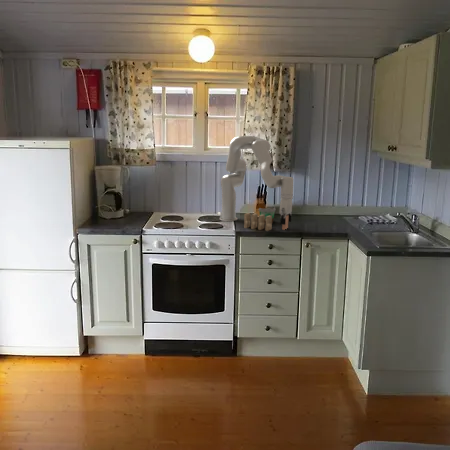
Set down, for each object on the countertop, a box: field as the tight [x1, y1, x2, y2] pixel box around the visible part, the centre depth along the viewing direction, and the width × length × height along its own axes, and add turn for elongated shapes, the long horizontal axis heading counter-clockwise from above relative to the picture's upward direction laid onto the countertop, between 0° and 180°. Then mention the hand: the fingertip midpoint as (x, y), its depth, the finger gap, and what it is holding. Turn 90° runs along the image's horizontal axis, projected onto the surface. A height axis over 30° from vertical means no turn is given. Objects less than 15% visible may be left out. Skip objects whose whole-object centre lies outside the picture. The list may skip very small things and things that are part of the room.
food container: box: [258, 206, 277, 224], centre depth 318 cm, size 12×6×10 cm, turn 112°
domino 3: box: [257, 214, 266, 231], centre depth 299 cm, size 2×5×9 cm, turn 151°
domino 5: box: [281, 215, 289, 231], centre depth 300 cm, size 2×5×9 cm, turn 151°
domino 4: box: [264, 215, 273, 232], centre depth 297 cm, size 2×5×9 cm, turn 151°
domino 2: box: [250, 213, 259, 230], centre depth 302 cm, size 2×5×9 cm, turn 151°
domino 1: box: [243, 212, 252, 229], centre depth 304 cm, size 2×5×9 cm, turn 151°
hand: (285, 222), depth 300 cm, fingers open, 9 cm apart
